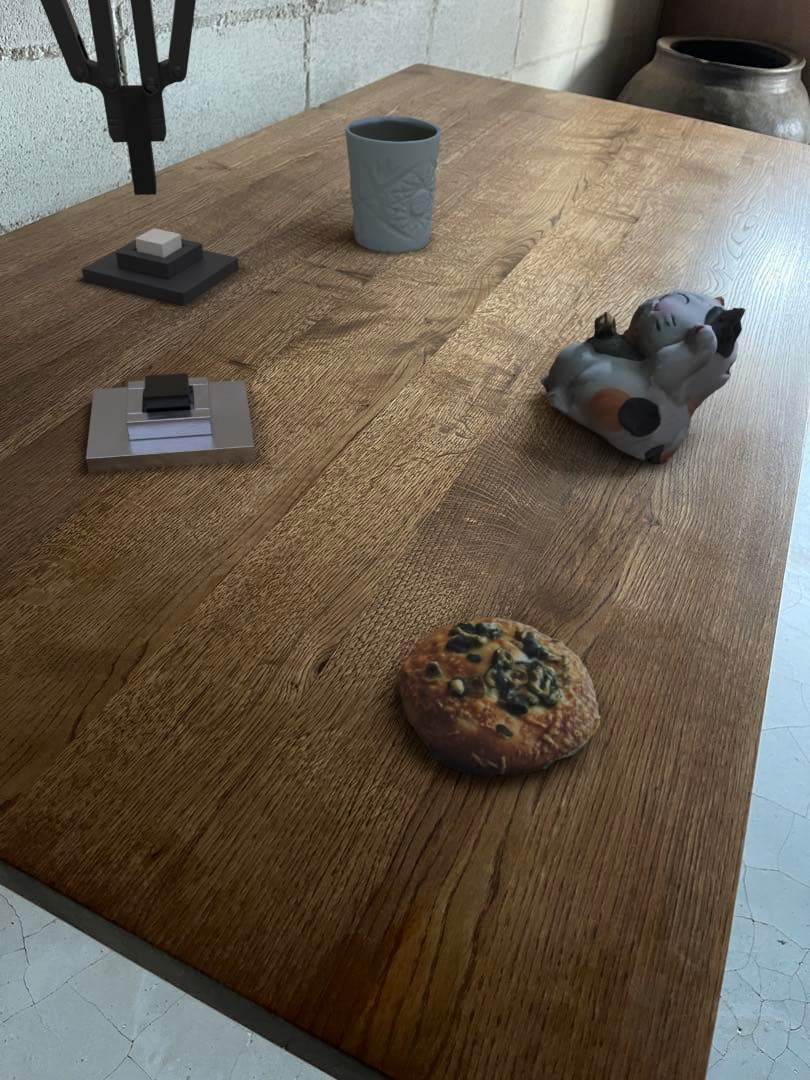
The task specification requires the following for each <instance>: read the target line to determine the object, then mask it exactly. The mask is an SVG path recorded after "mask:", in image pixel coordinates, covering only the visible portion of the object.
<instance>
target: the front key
mask: <svg viewBox="0 0 810 1080" xmlns="http://www.w3.org/2000/svg"><path fill="white" fill-rule="evenodd" d="M188 378H189V373H187V372H186V373H185V372H184V373H167V374H152V375H144V380H145V392H144V398H145V404H146V411H147V413H151V412H166V411H181V410H191V406H190V388H189V379H188Z"/></svg>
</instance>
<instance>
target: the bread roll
mask: <svg viewBox="0 0 810 1080" xmlns="http://www.w3.org/2000/svg"><path fill="white" fill-rule="evenodd" d="M398 689H399V695H400V700H401V708H402V710H403V711H402V712H403V713H404V716H405V718H406V720H407V722H408V723H409V724H410V726H412V727H413V728H414V730H415V732H416V734H417V736H418V738H419V740H421V742H422V744H423V745H424V746H425V747H426V748H427V749H428V752H429V753H430V754H431V756H432V758H433V760H435V761H438V763H439V764H440V765H443V767H446V768H449V769H452V770H454V771H456V772H461V773H465V774H472V775H477V776H482V777H487V778H490V777H496V775H501V776H502V777H510V776H518V775H519V776H521V775H524V774H529V773H532V772H537V771H540V770H544V769H548V768H550V767H551V765H552V764H553V763H554V762H556V761H558V760H561V759H564V758H569V757H571V756H574V755H576V754H577V753H579V751H580V750H583V747H586V745H588V744H589V741H590V739H591V738H592V736H594V734H595V733H596V732H597V731H598V729H599V727H600V725H601V718H602V717H601V716H600V713H599V703H598V702H597V695H596V691H595V688H594V683H593V680H592V678H591V676H590V674H589V672H588V668H587V667H586V666H585V665H584V663H583V662H582V660H581V658H580V656H578V655H576V653H575V652H574V651H573V650H571V649H570V648H569V647H567V646H565V644H564V642H563V641H562V640H559V639H556V638H552V637H550V636H548V635H546V634H545V633H542V632H540V631H539V630H538V629H537V628H535V627H534V626H531V625H528V624H523V623H522V622H519V621H515V620H512V619H509V618H501V617H480V618H476V619H475V620H468V621H466V622H458V623H451V624H448V625H446V626H443V627H440V628H438V629H436V630H435V631H434V632H432V633H430V634H429V635H428V636H427V637H425V638H422V639H420V640H419V641H418V642H416V646H415V647H414V650H413V651H412V652H411V653H410V654H409V656H408V658H407V659H406V660H405V661H404V663H403V664H402V667H401V670H400V673H399V686H398Z"/></svg>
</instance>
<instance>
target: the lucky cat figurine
mask: <svg viewBox="0 0 810 1080" xmlns="http://www.w3.org/2000/svg"><path fill="white" fill-rule="evenodd" d="M725 303H726V302H725V299H724V298H723V297H722V296H716V297H710V296H709V295H707V294H706V293H701V292H699V291H689V290H685V289H682V288H679V289H676V290H675V289H674V290H673V291H672V292H671V291H669V292H667V293H665V294H661V295H657V296H653V297H652V298H648V299H646V300H645V301H643V302H642V303H641V304H640V305H639V306H638V307H637V309H636V310H635V311H634V312H633V315H632V317H631V319H630V323H629V326H628V328H627V329H625V330H624V331H623V333H622V334H621V333H619V332H617V331H618V329H617V322H616V318H615V316H614V315H613V314H610V313H609V312H608V311H604V312H603V313H602V314H601V315H600V316H598V317H596V318H595V319H594V322H593V323H594V326H593V328H594V333H593V335H592V336H590V337H587V338H586V340H585V341H581V342H573V343H571V344H569V345H568V346H567V347H565V348H564V349H563V350H561V351H560V352H559V353H558V355H557V356H555V357H556V358H555V359H554V361H553V363H552V364H551V366H550V367H549V370H548V375H544V376H542V377H541V378H540V380H539V383H540V384H541V385H542V387H544V389H545V392H546V394H545V396H543V399H545V400H546V401H547V402H548V403H549V404H550V406H551V407H553V408H555V409H556V410H558V411H559V413H561V414H562V415H564V416H566V417H567V418H570V419H571V420H573V421H574V422H576V423H578V424H580V425H582V426H583V427H585V428H587V429H589V430H590V431H591V432H594V433H595V434H597V435H599V436H601V437H602V438H603V439H604V440H606V442H607V443H609V444H610V445H611V446H612V447H614V448H615V449H617V450H619V451H620V452H622V453H625V454H626V455H628V456H629V455H630V456H631V457H634V458H636V459H638V460H641V461H646V460H648V459H649V460H650V461H651V463H652V464H656V463H658V464H662V463H663V462H665V461H667V460H668V459H670V458H672V457H673V456H674V455H675V454H676V453H677V451H678V450H679V448H680V447H681V445H682V443H683V441H684V439H685V438H686V435H687V433H688V431H689V428H690V426H691V425H690V424H691V419H692V417H693V415H694V414H695V412H696V411H697V409H698V408H699V407H700V406H701V405H702V404H703V403H704V402H705V400H707V399H708V398H709V397H710V396H712V395H713V394H714V393H716V391H718V390H720V389H722V388H723V387H724V386H725V385H726V384H727V383H728V381H729V380H730V378H731V377H732V374H731V367H732V366H733V365H734V364H735V362H736V361H737V358H738V350H739V342H738V338H739V336H740V335H741V333H742V330H743V326H742V319H743V317H744V315H745V313H746V308H744V307H732V309H727V308H725Z"/></svg>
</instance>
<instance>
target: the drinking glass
mask: <svg viewBox="0 0 810 1080" xmlns="http://www.w3.org/2000/svg"><path fill="white" fill-rule="evenodd" d="M344 131H345V139H346V150H347V157H348V169H349V178H350V180H349V187H350V200H351V204H352V205H351V206H352V210H353V214H352V223H353V234H354V235H353V236H354V239H355V241H356V243H357V244H358V245H360V246H362V247H363V248H366V249H368V250H372V251H375V252H381V253H389V254H396V253H397V254H398V253H399V254H400V253H408V252H409V253H410V252H417V251H419V250H422V249H424V248H425V247H426V246H427V245H428V244H429V242H430V237H431V231H432V220H433V219H432V216H433V207H434V201H435V192H436V191H435V190H436V179H437V174H436V170H437V168H438V159H439V151H440V145H441V144H440V143H441V135H442V130H441V128H440V127H439V126H438V125H437V124H435V123H433V122H431V121H428V120H424V119H421V118H417V117H410V116H400V115H399V116H397V115H383V116H382V115H381V116H370V117H364V118H360V119H356V120H353V121H351V122H349V123H348V124H347V125H346V126H345V130H344Z"/></svg>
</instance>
